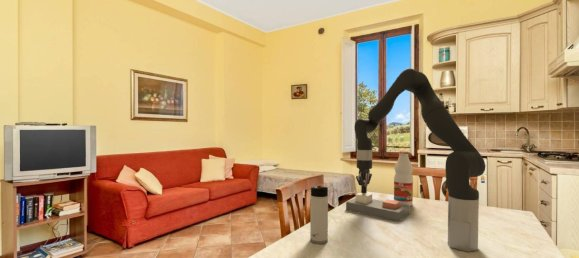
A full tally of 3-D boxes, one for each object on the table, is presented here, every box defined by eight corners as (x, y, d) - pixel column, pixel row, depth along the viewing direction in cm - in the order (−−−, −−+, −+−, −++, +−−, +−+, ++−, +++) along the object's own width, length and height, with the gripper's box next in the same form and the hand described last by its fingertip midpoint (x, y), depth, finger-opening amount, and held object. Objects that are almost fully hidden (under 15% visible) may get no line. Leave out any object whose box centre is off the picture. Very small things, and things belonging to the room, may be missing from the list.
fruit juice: (415, 203, 160) (416, 151, 160) (408, 207, 153) (409, 152, 152) (397, 200, 166) (398, 150, 166) (390, 204, 159) (391, 151, 159)
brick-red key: (395, 212, 136) (395, 204, 136) (382, 210, 140) (382, 201, 140) (400, 210, 141) (400, 201, 141) (387, 207, 145) (387, 199, 144)
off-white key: (366, 204, 145) (366, 196, 145) (355, 202, 149) (355, 194, 149) (372, 202, 150) (372, 194, 150) (361, 200, 154) (361, 192, 154)
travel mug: (314, 245, 105) (314, 188, 104) (307, 238, 111) (308, 184, 111) (330, 243, 106) (331, 187, 106) (323, 236, 113) (324, 183, 112)
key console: (398, 221, 131) (398, 212, 131) (346, 209, 148) (346, 201, 148) (409, 214, 142) (409, 205, 142) (359, 204, 159) (359, 196, 159)
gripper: (365, 160, 142) (364, 197, 142) (377, 158, 152) (376, 192, 152) (351, 159, 147) (350, 194, 147) (363, 157, 157) (363, 190, 157)
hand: (363, 193), depth 149 cm, fingers closed
